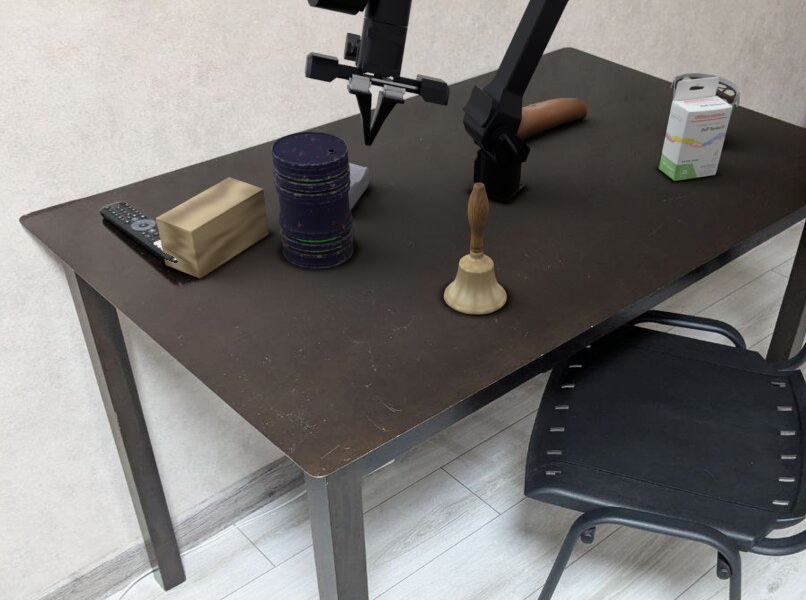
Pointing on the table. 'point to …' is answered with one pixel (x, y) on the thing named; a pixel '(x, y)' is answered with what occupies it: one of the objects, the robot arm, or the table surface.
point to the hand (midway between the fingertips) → (367, 145)
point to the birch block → (213, 226)
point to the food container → (724, 90)
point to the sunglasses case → (550, 115)
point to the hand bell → (476, 266)
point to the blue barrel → (313, 198)
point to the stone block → (357, 183)
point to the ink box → (695, 130)
